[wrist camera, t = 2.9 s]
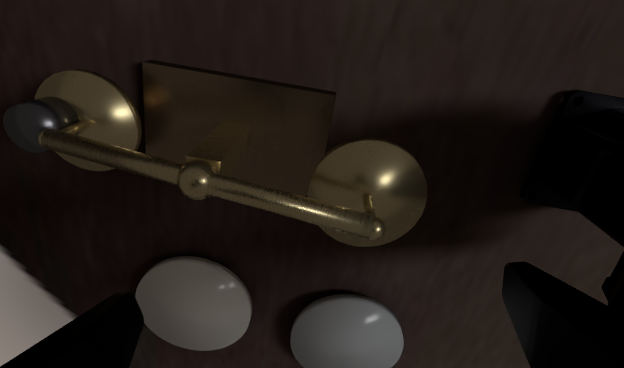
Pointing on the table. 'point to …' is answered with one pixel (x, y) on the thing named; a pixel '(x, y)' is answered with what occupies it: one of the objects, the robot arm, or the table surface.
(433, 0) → the table surface
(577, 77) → the table surface
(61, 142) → the balance
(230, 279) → the dish
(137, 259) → the table surface
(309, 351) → the dish
